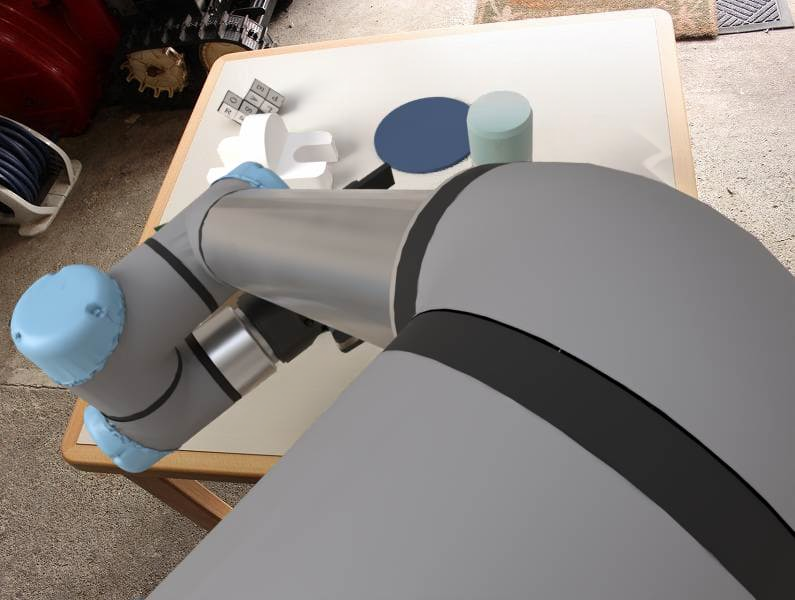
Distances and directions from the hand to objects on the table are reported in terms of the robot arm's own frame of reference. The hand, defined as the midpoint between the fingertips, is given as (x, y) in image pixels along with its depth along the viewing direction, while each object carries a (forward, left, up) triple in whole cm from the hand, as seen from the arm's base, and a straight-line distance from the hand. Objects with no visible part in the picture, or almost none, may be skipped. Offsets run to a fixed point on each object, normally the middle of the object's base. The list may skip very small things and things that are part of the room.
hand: (432, 204), depth 61 cm
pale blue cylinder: (+3, -10, -16) cm, 19 cm away
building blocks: (+49, +8, -17) cm, 52 cm away
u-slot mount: (+34, +10, -17) cm, 39 cm away
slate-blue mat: (+27, -12, -16) cm, 34 cm away
